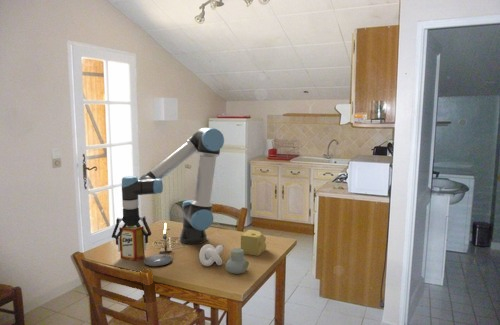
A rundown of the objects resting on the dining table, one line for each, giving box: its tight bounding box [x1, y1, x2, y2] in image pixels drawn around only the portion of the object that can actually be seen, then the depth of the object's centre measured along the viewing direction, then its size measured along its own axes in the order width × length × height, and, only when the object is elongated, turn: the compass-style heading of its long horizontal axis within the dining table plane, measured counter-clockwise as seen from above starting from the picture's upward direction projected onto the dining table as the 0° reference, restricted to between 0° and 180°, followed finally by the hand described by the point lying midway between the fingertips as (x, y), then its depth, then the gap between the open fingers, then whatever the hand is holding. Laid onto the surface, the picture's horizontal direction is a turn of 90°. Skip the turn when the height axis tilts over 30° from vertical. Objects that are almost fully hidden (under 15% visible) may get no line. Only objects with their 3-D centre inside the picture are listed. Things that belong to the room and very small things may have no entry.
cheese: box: [240, 229, 267, 257], centre depth 191 cm, size 10×11×10 cm
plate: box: [143, 253, 173, 267], centre depth 178 cm, size 13×13×1 cm
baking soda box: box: [118, 225, 145, 262], centre depth 183 cm, size 10×6×16 cm
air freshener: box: [225, 247, 250, 275], centre depth 166 cm, size 11×8×10 cm
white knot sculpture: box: [198, 243, 224, 267], centre depth 174 cm, size 11×12×9 cm
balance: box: [159, 222, 172, 254], centre depth 191 cm, size 6×14×14 cm, turn 11°
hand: (132, 250), depth 184 cm, fingers closed on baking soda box, 11 cm apart
